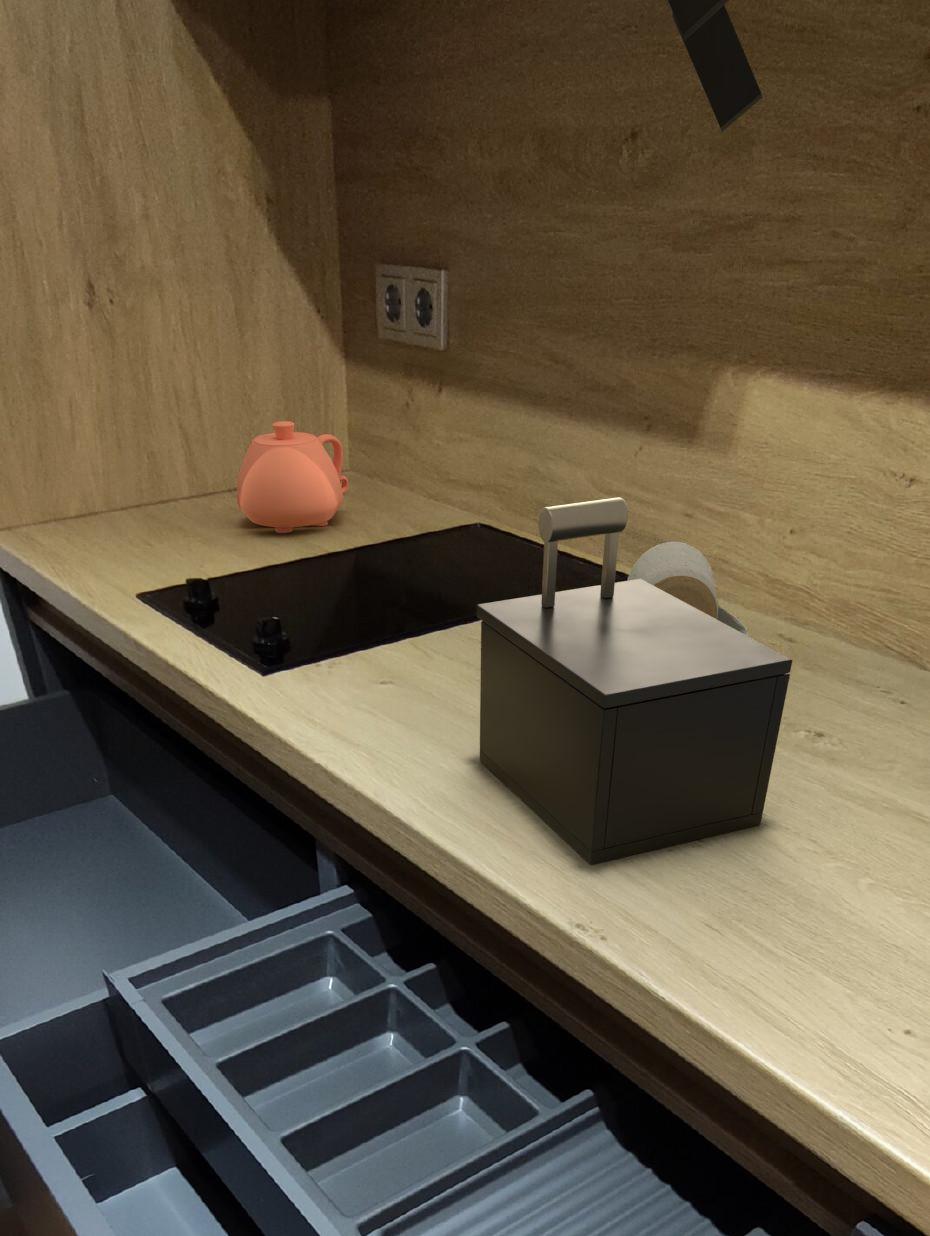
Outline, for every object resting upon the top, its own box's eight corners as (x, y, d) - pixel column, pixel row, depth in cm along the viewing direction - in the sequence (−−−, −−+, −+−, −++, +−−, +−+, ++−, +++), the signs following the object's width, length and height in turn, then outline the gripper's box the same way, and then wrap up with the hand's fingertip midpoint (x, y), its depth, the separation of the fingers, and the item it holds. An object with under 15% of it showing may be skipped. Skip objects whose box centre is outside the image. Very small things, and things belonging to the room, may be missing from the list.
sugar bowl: (223, 519, 132) (210, 420, 125) (325, 501, 138) (318, 405, 131) (270, 543, 124) (259, 438, 118) (376, 522, 130) (371, 421, 123)
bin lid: (475, 616, 75) (476, 505, 71) (639, 589, 79) (650, 482, 74) (604, 709, 63) (615, 582, 58) (790, 672, 66) (815, 550, 62)
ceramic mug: (627, 664, 95) (639, 568, 90) (620, 630, 101) (631, 539, 96) (752, 666, 94) (771, 570, 89) (738, 633, 100) (754, 541, 95)
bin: (479, 760, 81) (480, 620, 75) (630, 730, 85) (645, 593, 78) (590, 865, 70) (603, 710, 63) (760, 824, 73) (790, 673, 67)
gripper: (555, -147, 71) (700, 187, 75) (405, -458, 50) (618, 28, 54) (659, -260, 67) (807, 98, 71) (545, -648, 46) (763, -110, 50)
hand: (726, 69), depth 63 cm, fingers open, 13 cm apart
